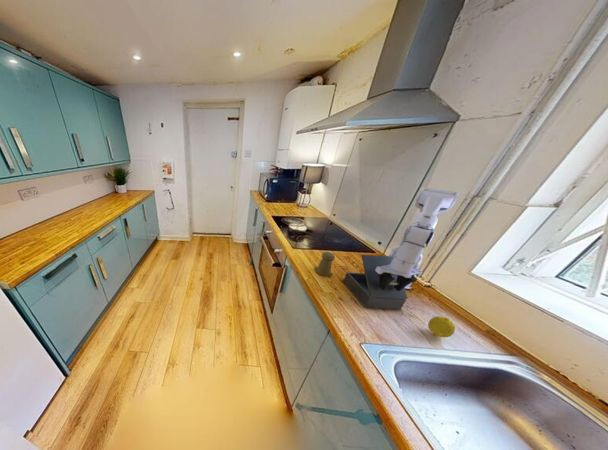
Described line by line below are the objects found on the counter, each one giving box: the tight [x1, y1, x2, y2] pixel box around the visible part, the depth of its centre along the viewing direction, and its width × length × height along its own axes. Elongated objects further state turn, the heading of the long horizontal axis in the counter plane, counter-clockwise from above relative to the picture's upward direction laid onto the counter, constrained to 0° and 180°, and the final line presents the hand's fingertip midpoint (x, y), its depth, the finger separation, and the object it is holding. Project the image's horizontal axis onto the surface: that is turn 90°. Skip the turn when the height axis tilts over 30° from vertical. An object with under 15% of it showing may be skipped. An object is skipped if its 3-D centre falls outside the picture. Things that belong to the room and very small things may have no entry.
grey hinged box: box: [342, 272, 407, 311], centre depth 83 cm, size 15×13×5 cm
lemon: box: [427, 315, 456, 338], centre depth 66 cm, size 6×6×8 cm
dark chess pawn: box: [315, 251, 336, 277], centre depth 95 cm, size 6×6×11 cm
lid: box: [361, 254, 408, 300], centre depth 76 cm, size 16×13×4 cm
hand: (389, 288), depth 75 cm, fingers open, 5 cm apart
